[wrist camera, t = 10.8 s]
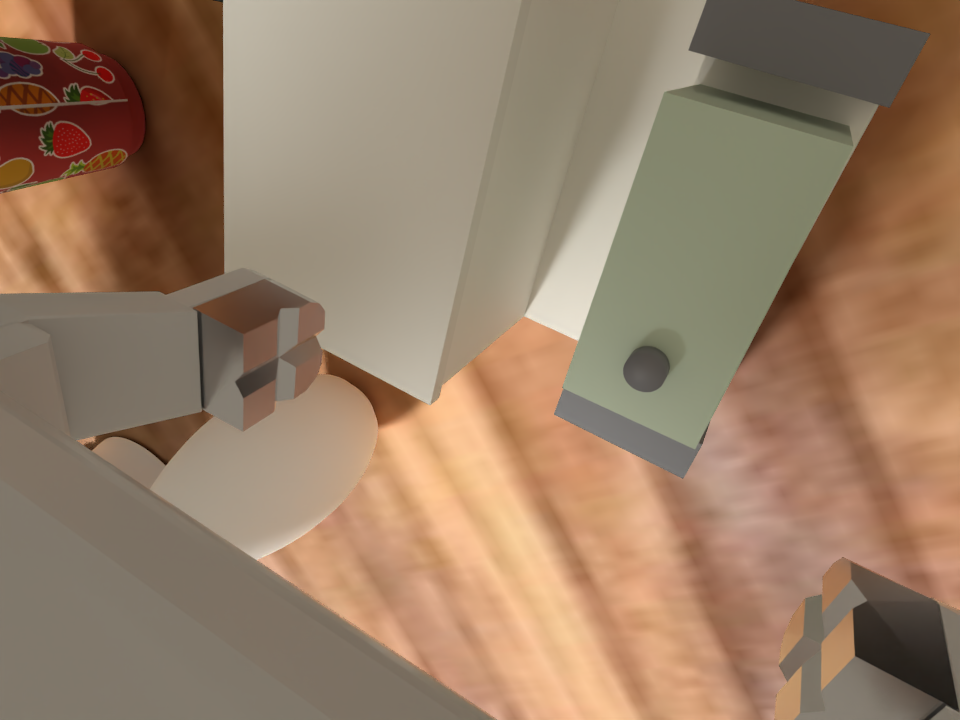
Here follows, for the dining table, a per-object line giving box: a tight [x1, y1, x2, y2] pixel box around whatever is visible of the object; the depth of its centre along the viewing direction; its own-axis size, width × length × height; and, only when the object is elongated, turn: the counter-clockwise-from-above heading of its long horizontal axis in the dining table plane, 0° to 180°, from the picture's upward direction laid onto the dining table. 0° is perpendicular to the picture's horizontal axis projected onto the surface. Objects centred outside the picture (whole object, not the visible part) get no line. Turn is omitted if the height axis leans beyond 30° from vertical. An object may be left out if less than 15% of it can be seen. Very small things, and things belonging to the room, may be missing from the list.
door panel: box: [562, 84, 854, 449], centre depth 18 cm, size 9×4×6 cm, turn 167°
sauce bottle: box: [150, 374, 378, 560], centre depth 31 cm, size 8×8×18 cm
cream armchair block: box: [223, 0, 930, 478], centre depth 22 cm, size 14×19×10 cm
